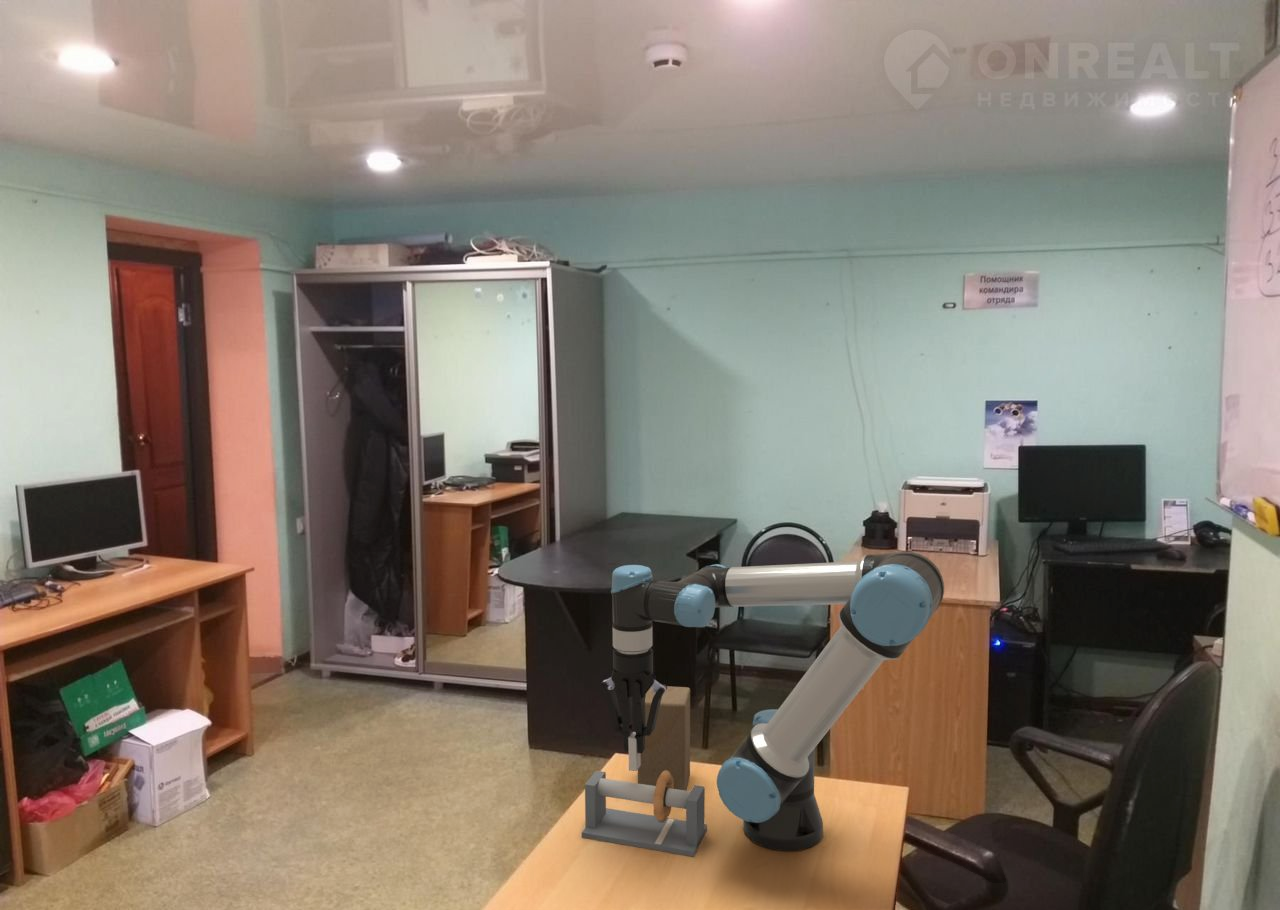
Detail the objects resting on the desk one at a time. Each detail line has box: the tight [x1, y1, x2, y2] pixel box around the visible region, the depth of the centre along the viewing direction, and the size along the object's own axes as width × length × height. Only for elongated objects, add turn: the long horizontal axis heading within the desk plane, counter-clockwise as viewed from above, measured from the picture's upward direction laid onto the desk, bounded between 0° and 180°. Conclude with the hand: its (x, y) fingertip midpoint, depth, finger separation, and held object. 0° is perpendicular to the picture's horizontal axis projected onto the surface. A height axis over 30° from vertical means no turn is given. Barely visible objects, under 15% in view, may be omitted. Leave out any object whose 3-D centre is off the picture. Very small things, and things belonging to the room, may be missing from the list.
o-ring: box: [653, 770, 674, 823], centre depth 170 cm, size 2×9×9 cm, turn 162°
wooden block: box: [637, 685, 691, 791], centre depth 190 cm, size 10×10×20 cm
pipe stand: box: [581, 770, 708, 858], centre depth 171 cm, size 22×10×10 cm, turn 72°
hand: (634, 767), depth 171 cm, fingers closed
